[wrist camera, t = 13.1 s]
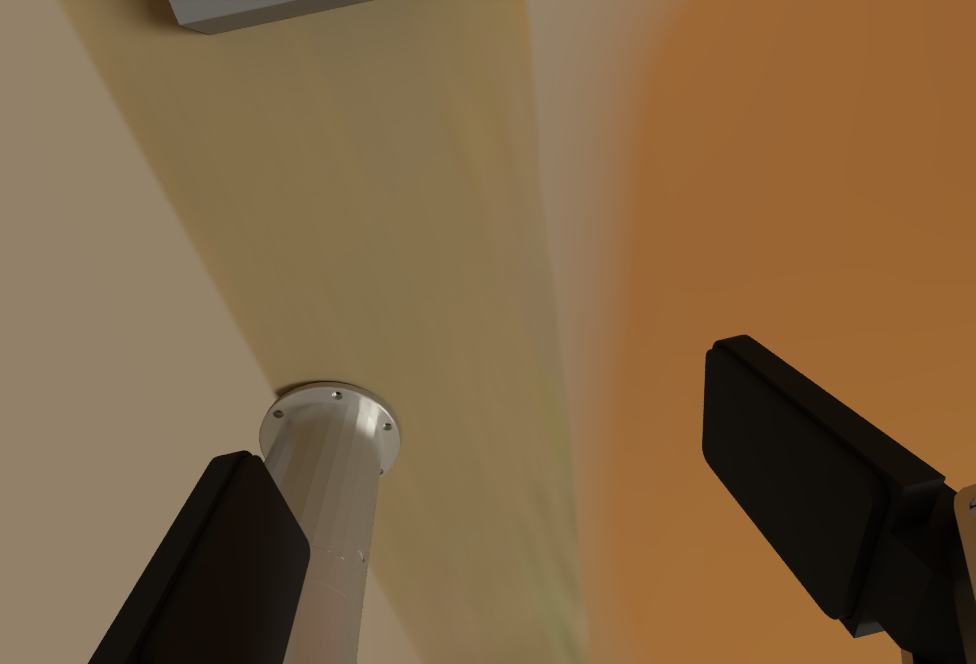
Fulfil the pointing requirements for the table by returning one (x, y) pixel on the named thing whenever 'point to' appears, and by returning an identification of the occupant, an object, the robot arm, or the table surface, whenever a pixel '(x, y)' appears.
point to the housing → (245, 12)
